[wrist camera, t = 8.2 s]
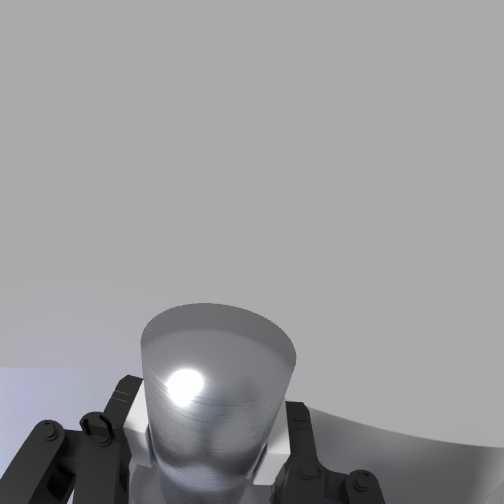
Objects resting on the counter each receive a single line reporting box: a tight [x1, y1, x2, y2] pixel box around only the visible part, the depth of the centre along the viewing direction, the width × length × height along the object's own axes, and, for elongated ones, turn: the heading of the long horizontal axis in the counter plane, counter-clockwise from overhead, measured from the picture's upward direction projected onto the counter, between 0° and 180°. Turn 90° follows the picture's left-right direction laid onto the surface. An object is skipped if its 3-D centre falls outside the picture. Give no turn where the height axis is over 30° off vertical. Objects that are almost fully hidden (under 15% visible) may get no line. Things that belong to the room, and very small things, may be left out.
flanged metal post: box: [131, 303, 296, 504], centre depth 9 cm, size 7×7×12 cm
